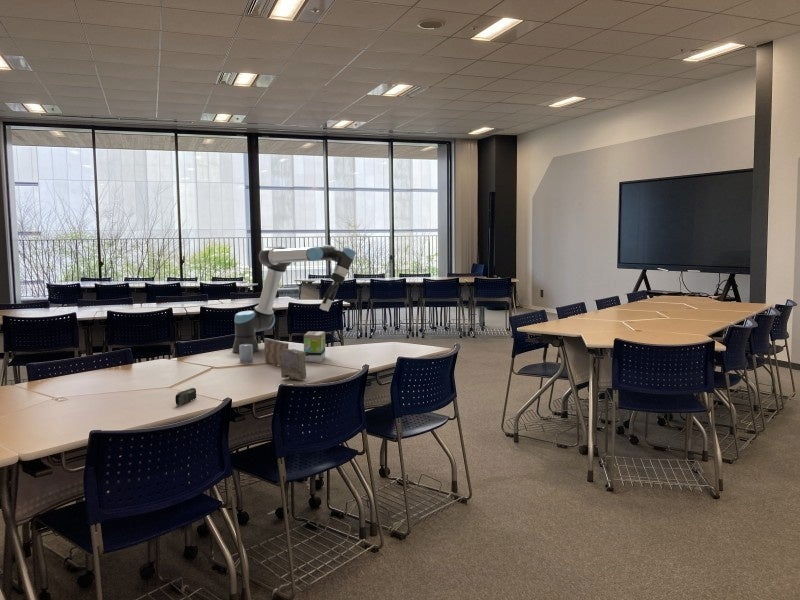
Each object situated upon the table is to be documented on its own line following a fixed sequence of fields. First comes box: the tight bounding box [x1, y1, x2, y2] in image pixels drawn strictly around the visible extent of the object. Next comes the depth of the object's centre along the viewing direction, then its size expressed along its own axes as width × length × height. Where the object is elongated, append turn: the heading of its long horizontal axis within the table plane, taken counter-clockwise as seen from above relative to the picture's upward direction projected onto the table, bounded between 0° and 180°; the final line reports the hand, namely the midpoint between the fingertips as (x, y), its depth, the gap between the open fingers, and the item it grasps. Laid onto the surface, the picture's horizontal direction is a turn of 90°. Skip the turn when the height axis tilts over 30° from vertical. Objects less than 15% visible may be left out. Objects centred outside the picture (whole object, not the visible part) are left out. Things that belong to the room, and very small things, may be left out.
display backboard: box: [263, 337, 290, 367], centre depth 329 cm, size 24×2×13 cm, turn 39°
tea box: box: [303, 331, 326, 363], centre depth 344 cm, size 15×10×15 cm
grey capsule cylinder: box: [239, 344, 254, 363], centre depth 340 cm, size 7×7×9 cm
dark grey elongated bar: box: [174, 387, 197, 408], centre depth 253 cm, size 5×3×15 cm
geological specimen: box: [280, 348, 307, 381], centre depth 292 cm, size 11×6×15 cm, turn 61°
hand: (323, 310), depth 344 cm, fingers open, 13 cm apart
